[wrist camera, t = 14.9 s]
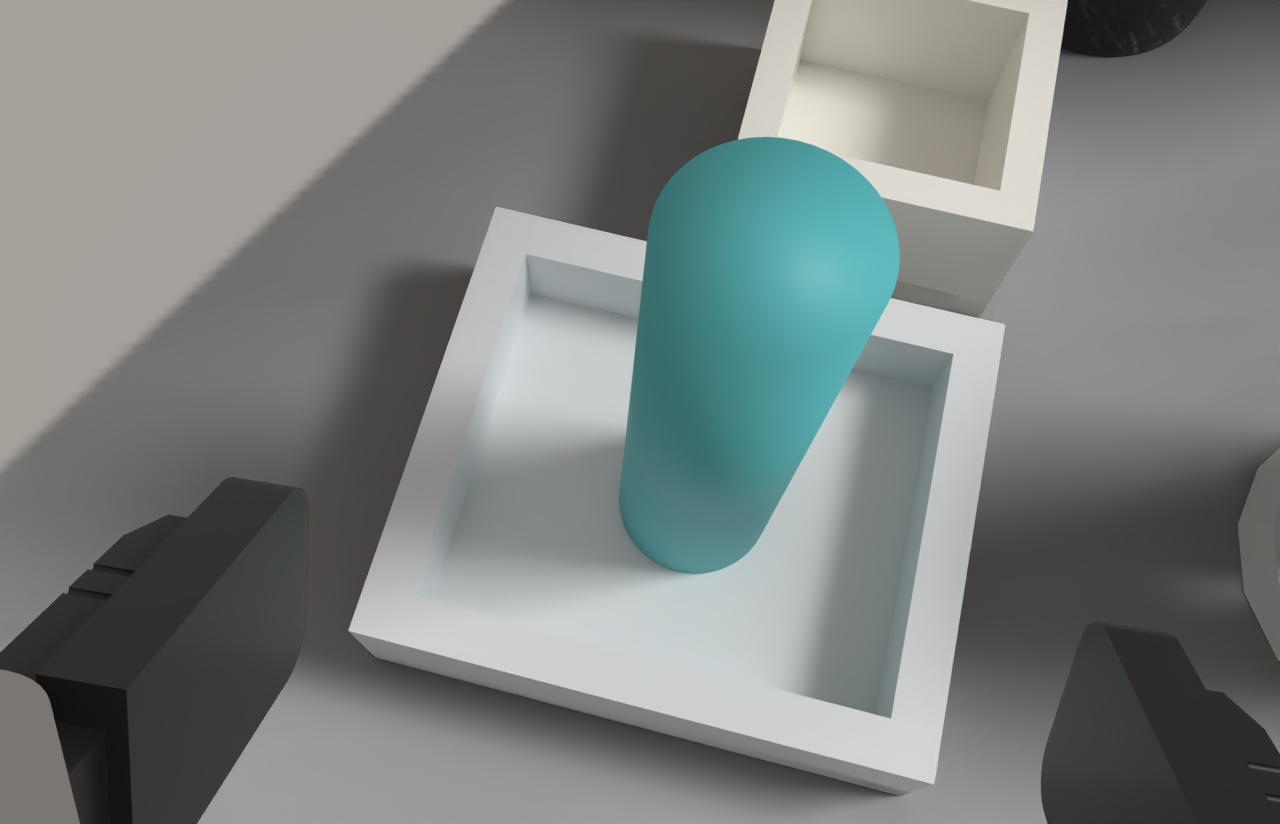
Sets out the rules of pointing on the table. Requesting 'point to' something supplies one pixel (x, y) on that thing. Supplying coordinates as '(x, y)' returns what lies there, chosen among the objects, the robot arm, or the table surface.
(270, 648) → the robot arm
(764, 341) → the dowel
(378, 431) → the table surface
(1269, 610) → the french press
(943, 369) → the tray
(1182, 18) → the travel mug
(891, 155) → the square box
